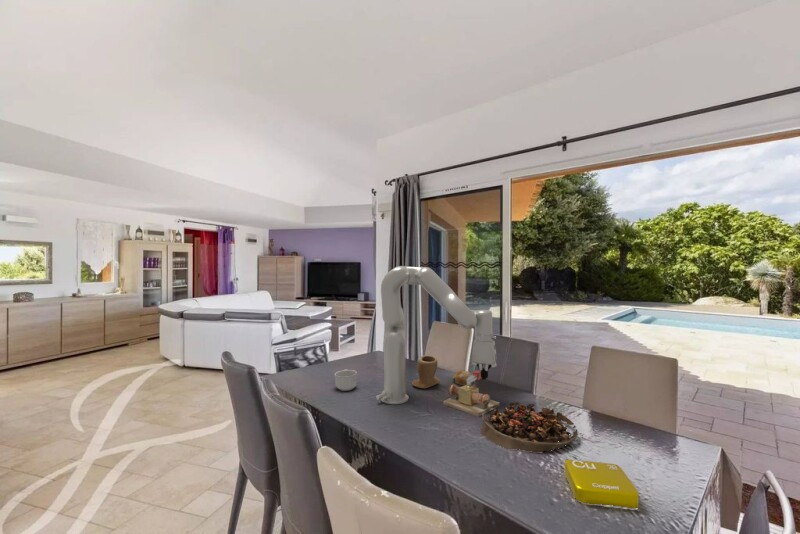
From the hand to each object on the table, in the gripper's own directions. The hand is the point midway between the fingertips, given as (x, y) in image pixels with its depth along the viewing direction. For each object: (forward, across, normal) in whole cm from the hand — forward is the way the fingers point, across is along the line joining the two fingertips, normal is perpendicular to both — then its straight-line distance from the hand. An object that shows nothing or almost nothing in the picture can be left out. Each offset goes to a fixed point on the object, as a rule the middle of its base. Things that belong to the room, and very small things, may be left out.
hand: (484, 378), depth 166 cm
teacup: (+9, +65, +13) cm, 67 cm away
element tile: (+11, -43, +51) cm, 68 cm away
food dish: (+11, -20, +22) cm, 32 cm away
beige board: (+10, +4, +8) cm, 13 cm away
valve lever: (+1, +4, +4) cm, 6 cm away
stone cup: (+10, +30, -8) cm, 33 cm away
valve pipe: (+8, +5, +9) cm, 13 cm away
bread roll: (+10, +16, -21) cm, 28 cm away
